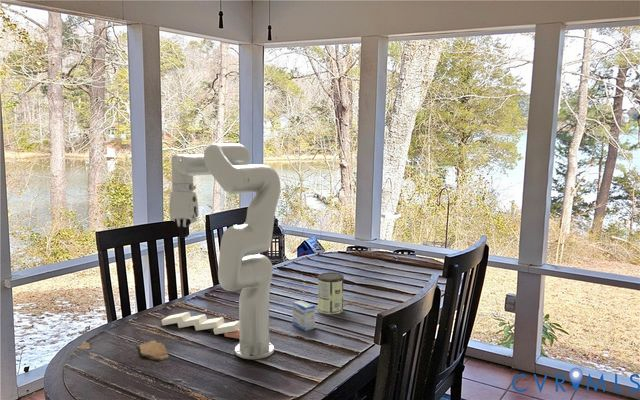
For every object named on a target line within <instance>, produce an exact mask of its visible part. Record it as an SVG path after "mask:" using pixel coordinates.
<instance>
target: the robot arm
mask: <svg viewBox="0 0 640 400" xmlns="http://www.w3.org/2000/svg"><path fill="white" fill-rule="evenodd" d="M250 158H251V154H250V150H249V149H248V148H247V147H246V146H245V145H243V144H241V143H238V142H237V143H235V142H230V143H229V142H227V143H226V142H225V143H223V142H222V143H218V142H217V143H212V144H210V145H208V146H207V147H206V148H205V150H204V152H203V153H200V154H199V153H197V154H196V153H195V154H186V153H180V154H179V153H178V154H174V155H173V154H172V156H171V182H172V183H171V186H172V187H171V190H172V191H170V195H169V207H168V209H169V213H168V214H169V217H170V220H171V221H173V222H175V223H176V224H177V227H178V232H179V233H178V234H179V238H182V239H183V238H188V236H189V227H190V226H191V224H192V223H196V222H197V221H198V220H197V218H198V217H199V203H198V201H199V200H198V197H197V193H196V191H194V190H196V189H197V188H196V185H194V176H195V177H196V176H204V175H205V176H209V175H210V176H212V177H213V178H214V179H215V181H216V182H217V183H218V184H219V186H220V187H221V189H222V190H224V191H225V192H227V193H228V194H231V195H238V194H239V195H241V194H251V193H255V196H253V198H252V200H251V201H250V202H249V204H248V207H247V211H246V218H245V221H244V223H242V224H237V225H231V226H229V227H228V228H226V230H225V231H224V232H223V234H222V236H221V240H220V245H219V257H218V267H217V269H218V270H217V275H218V276H217V277H218V282H219V284H220V287H221V288H222V289H224V290H225V291H227V292H234V291H237V290H241V292H240V295H239V298H238V299H239V300H238V308H239V309H238V311H239V312H238V314H239V315H238V316H239V318H238V321H239V343H238V344H237V345H235V347H234V353H235V355H236V356H237V357H239V358H242V359H243V360H244V359H245V360H259V359H265V358H267V357H270V356H272V355H273V353H274V352H275V346H274V344H272V343H271V342H270V289H271V283H272V277H273V271H274V270H273V269H274V268H273V262H271V260H270V259H269V257H267V256H266V255H264V254H261V253H264V252H267V251H268V250H269V249H270V248H271V245H272V240H273V232H274V226H275V225H274V224H275V217H276V216H275V215H276V214H275V213H276V209H277V205H278V203H279V198H280V196H281V189H282V188H281V180H280V177H279V174H278V173H277V171H276V169H274V168H273V167H272V166H269V165H266V164H249V162H250Z"/></svg>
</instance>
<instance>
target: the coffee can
mask: <svg viewBox="0 0 640 400" xmlns="http://www.w3.org/2000/svg"><path fill="white" fill-rule="evenodd" d="M344 278H345V277H344V274H342V273H339V272H323V273H319V274H318V275H317V311H318V312H319V313H321V314H324V315H337V314H340V313H343V312H344Z"/></svg>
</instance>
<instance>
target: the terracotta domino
mask: <svg viewBox="0 0 640 400" xmlns="http://www.w3.org/2000/svg"><path fill="white" fill-rule="evenodd" d="M224 337H226V338H233V339H239V329H238V330H236V331H232V332H226V333H224Z"/></svg>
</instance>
